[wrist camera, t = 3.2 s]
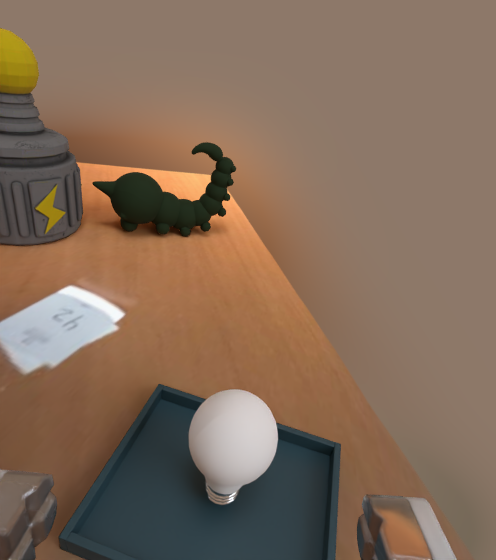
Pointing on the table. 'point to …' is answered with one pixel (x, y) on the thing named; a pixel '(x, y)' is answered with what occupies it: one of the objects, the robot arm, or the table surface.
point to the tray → (205, 497)
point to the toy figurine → (169, 198)
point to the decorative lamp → (32, 158)
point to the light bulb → (232, 442)
